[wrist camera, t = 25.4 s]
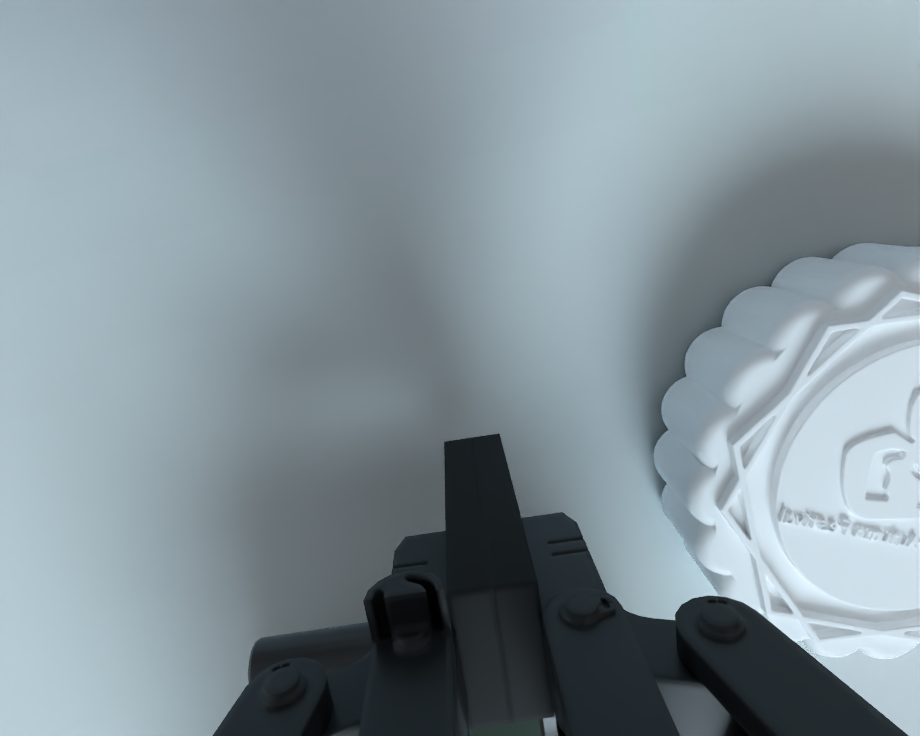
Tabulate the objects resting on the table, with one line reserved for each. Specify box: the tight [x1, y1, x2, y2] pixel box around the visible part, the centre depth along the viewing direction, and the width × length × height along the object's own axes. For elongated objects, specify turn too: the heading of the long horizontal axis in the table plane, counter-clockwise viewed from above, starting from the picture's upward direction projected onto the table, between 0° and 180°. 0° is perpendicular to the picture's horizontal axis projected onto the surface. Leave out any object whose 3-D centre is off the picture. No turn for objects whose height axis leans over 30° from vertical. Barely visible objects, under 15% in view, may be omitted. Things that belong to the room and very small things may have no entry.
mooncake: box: [654, 243, 920, 659], centre depth 17 cm, size 12×12×4 cm
